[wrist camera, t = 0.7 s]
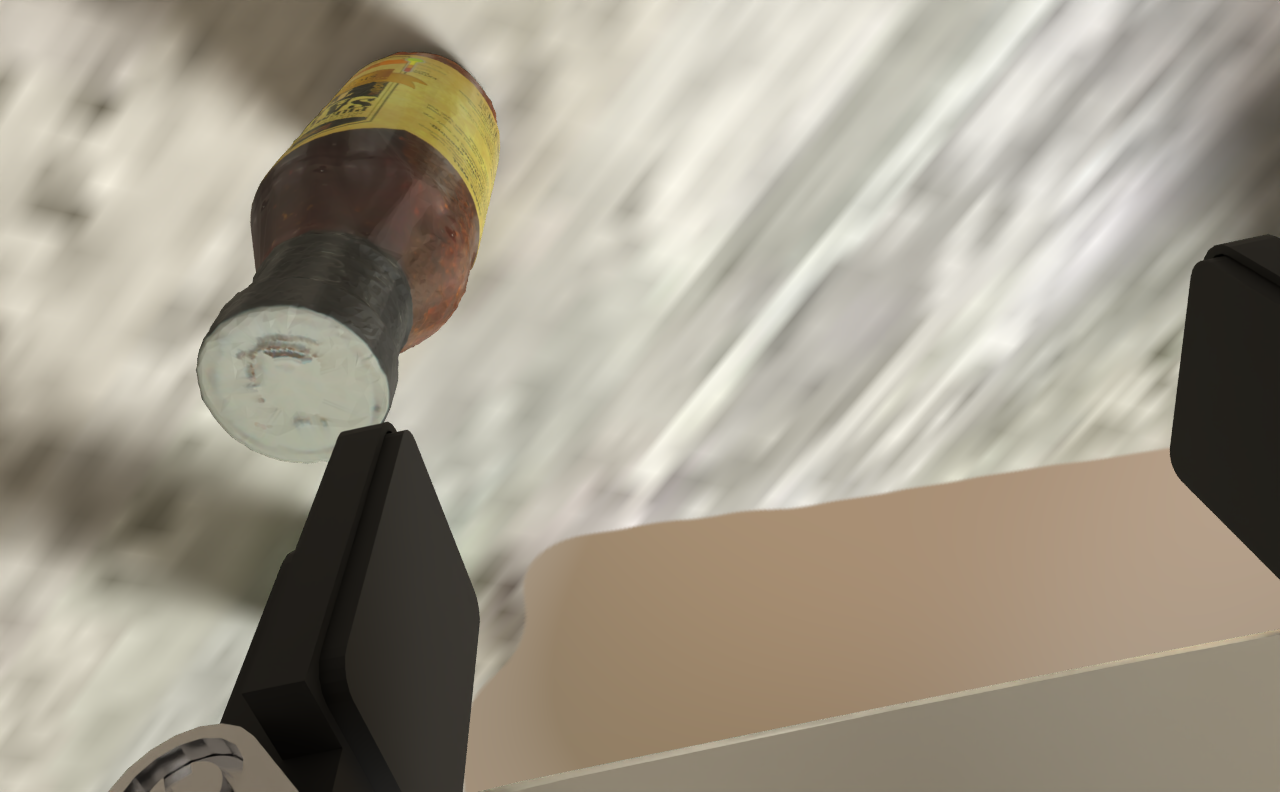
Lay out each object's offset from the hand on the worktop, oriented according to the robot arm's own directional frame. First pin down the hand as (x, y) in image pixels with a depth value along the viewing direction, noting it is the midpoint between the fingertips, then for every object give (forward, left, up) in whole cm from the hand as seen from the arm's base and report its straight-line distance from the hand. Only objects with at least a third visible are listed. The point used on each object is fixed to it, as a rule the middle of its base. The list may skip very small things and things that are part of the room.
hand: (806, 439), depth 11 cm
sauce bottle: (+6, -7, -28) cm, 30 cm away
